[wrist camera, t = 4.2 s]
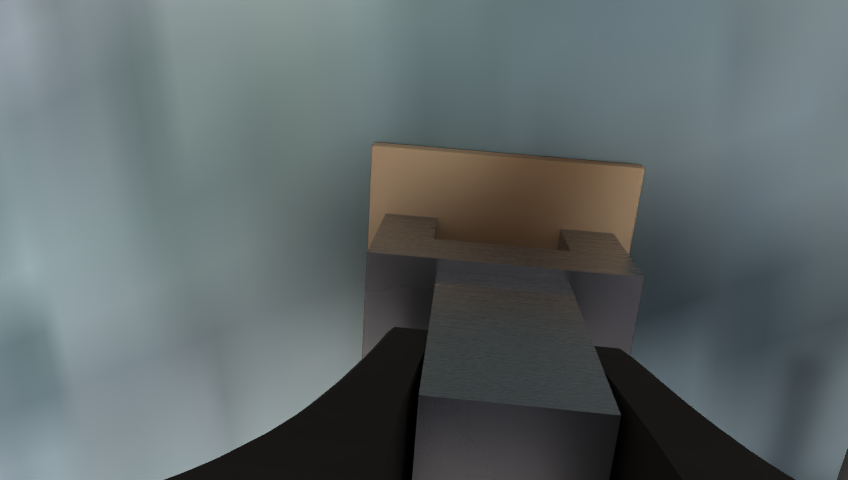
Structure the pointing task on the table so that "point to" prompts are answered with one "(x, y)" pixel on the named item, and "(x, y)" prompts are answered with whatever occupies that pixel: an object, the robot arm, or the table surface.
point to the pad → (503, 194)
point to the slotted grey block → (506, 348)
